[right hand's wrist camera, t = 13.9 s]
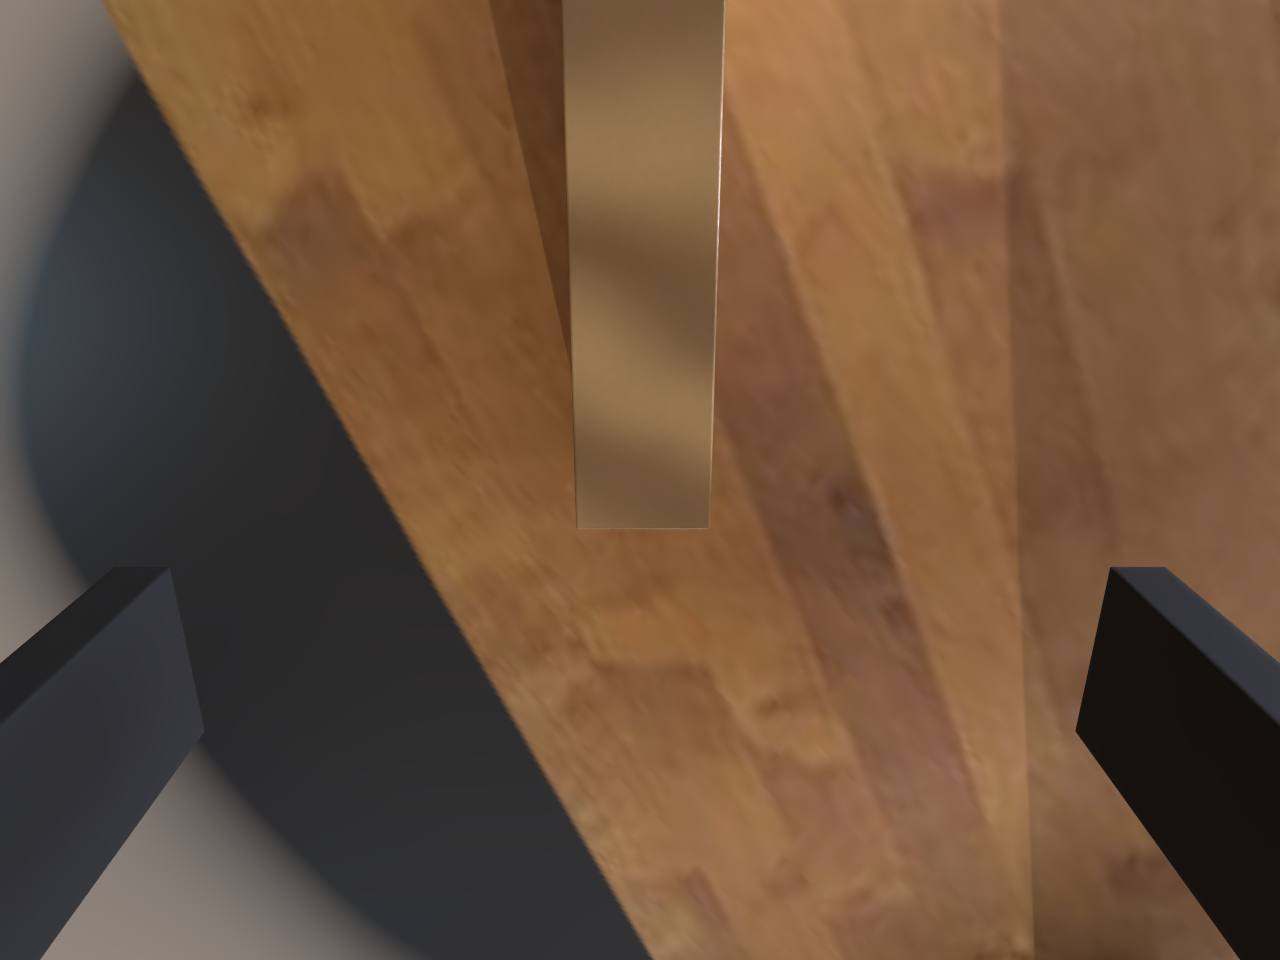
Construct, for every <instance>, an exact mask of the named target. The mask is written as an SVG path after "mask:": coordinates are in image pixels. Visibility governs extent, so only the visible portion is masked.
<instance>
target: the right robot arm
mask: <svg viewBox="0 0 1280 960" xmlns="http://www.w3.org/2000/svg"><path fill="white" fill-rule="evenodd" d="M203 733H204V726H203V722H202V717H201V712H200V708H199V703H198V698H197V693H196V689H195V684H194V680H193V675H192V670H191V666H190V661H189V656H188V651H187V647H186V642H185V637H184V632H183V628H182V623H181V618H180V614H179V609H178V604H177V600H176V595H175V590H174V585H173V581H172V576H171V571H170V568H169V567H115V568H113V569H112V570H111V571H110V572H109V573H107V574H106V575H105V576H104V577H103V578H101V579H100V580H99V581H98V582H97V583H95V584H94V585H93V586H92V587H91V588H90V589H88V590H87V591H86V592H85V593H84V594H82V595H81V596H80V597H79V598H78V599H76V600H75V601H74V602H73V603H72V604H70V605H69V606H68V607H67V608H66V609H65V610H63V611H62V612H61V613H60V614H59V615H57V616H56V617H55V618H54V619H53V620H51V621H50V622H49V623H48V624H47V625H45V626H44V627H43V628H42V629H41V630H39V631H38V632H37V633H36V634H35V635H34V636H32V637H31V638H30V639H29V640H28V641H26V642H25V643H24V644H23V645H22V646H20V647H19V648H18V649H17V650H16V651H14V652H13V653H12V654H11V655H10V656H9V657H7V658H6V659H5V660H4V661H3V662H1V663H0V960H40V959H41V958H42V956H43V955H44V953H45V952H46V951H47V949H48V948H49V946H50V945H51V944H52V942H53V941H54V939H55V938H56V937H57V935H58V934H59V933H60V931H61V930H62V928H63V927H64V925H65V924H66V923H67V921H68V920H69V919H70V917H71V916H72V915H73V913H74V912H75V910H76V909H77V908H78V906H79V905H80V903H81V902H82V901H83V899H84V898H85V896H86V895H87V894H88V892H89V891H90V890H91V888H92V887H93V885H94V884H95V883H96V881H97V880H98V878H99V877H100V876H101V874H102V873H103V871H104V870H105V869H106V867H107V866H108V864H109V863H110V862H111V860H112V859H113V858H114V856H115V855H116V853H117V852H118V851H119V849H120V848H121V846H122V845H123V844H124V842H125V841H126V839H127V838H128V837H129V835H130V834H131V832H132V831H133V830H134V828H135V827H136V826H137V824H138V823H139V821H140V820H141V819H142V817H143V816H144V815H145V813H146V812H147V810H148V809H149V807H150V806H151V805H152V803H153V802H154V801H155V799H156V798H157V796H158V795H159V794H160V792H161V791H162V790H163V788H164V787H165V785H166V784H167V783H168V781H169V780H170V778H171V777H172V776H173V774H174V773H175V771H176V770H177V769H178V767H179V766H180V765H181V763H182V762H183V760H184V759H185V758H186V756H187V755H188V753H189V752H190V751H191V749H192V748H193V746H194V745H195V744H196V742H197V741H198V739H199V738H200V737H201V735H202V734H203ZM1076 733H1077V734H1078V735H1079V737H1080V738H1081V740H1082V741H1083V742H1084V744H1085V745H1086V746H1087V748H1088V749H1089V751H1090V752H1091V753H1092V755H1093V756H1094V758H1095V759H1096V760H1097V762H1098V763H1099V765H1100V766H1101V767H1102V769H1103V770H1104V771H1105V773H1106V774H1107V776H1108V777H1109V778H1110V780H1111V781H1112V783H1113V784H1114V785H1115V787H1116V788H1117V790H1118V791H1119V792H1120V794H1121V795H1122V796H1123V798H1124V799H1125V801H1126V802H1127V803H1128V805H1129V806H1130V808H1131V809H1132V810H1133V812H1134V813H1135V815H1136V816H1137V817H1138V819H1139V820H1140V821H1141V823H1142V824H1143V826H1144V827H1145V828H1146V830H1147V831H1148V833H1149V834H1150V835H1151V837H1152V838H1153V840H1154V841H1155V842H1156V844H1157V845H1158V846H1159V848H1160V849H1161V851H1162V852H1163V853H1164V855H1165V856H1166V858H1167V859H1168V860H1169V862H1170V863H1171V865H1172V866H1173V867H1174V869H1175V870H1176V871H1177V873H1178V874H1179V876H1180V877H1181V878H1182V880H1183V881H1184V883H1185V884H1186V885H1187V887H1188V888H1189V890H1190V891H1191V892H1192V894H1193V895H1194V896H1195V898H1196V899H1197V901H1198V902H1199V903H1200V905H1201V906H1202V908H1203V909H1204V910H1205V912H1206V913H1207V915H1208V916H1209V917H1210V919H1211V920H1212V921H1213V923H1214V924H1215V926H1216V927H1217V928H1218V930H1219V931H1220V933H1221V934H1222V935H1223V937H1224V938H1225V940H1226V941H1227V942H1228V944H1229V945H1230V946H1231V948H1232V949H1233V951H1234V952H1235V953H1236V955H1237V956H1238V958H1239V959H1240V960H1280V663H1279V662H1277V661H1276V660H1275V659H1274V658H1273V657H1271V656H1270V655H1269V654H1268V653H1267V652H1266V651H1264V650H1263V649H1262V648H1261V647H1260V646H1258V645H1257V644H1256V643H1255V642H1254V641H1252V640H1251V639H1250V638H1249V637H1248V636H1246V635H1245V634H1244V633H1243V632H1242V631H1241V630H1239V629H1238V628H1237V627H1236V626H1235V625H1233V624H1232V623H1231V622H1230V621H1229V620H1227V619H1226V618H1225V617H1224V616H1223V615H1221V614H1220V613H1219V612H1218V611H1217V610H1215V609H1214V608H1213V607H1212V606H1211V605H1210V604H1208V603H1207V602H1206V601H1205V600H1204V599H1202V598H1201V597H1200V596H1199V595H1198V594H1196V593H1195V592H1194V591H1193V590H1192V589H1190V588H1189V587H1188V586H1187V585H1186V584H1185V583H1183V582H1182V581H1181V580H1180V579H1179V578H1177V577H1176V576H1175V575H1174V574H1173V573H1171V572H1170V571H1169V570H1168V569H1167V568H1165V567H1110V571H1109V576H1108V581H1107V585H1106V590H1105V595H1104V600H1103V604H1102V609H1101V614H1100V618H1099V623H1098V628H1097V632H1096V637H1095V642H1094V647H1093V651H1092V656H1091V661H1090V665H1089V670H1088V675H1087V679H1086V684H1085V689H1084V693H1083V698H1082V703H1081V708H1080V712H1079V717H1078V722H1077V726H1076Z"/></svg>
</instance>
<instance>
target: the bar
mask: <svg viewBox="0 0 1280 960" xmlns="http://www.w3.org/2000/svg"><path fill="white" fill-rule="evenodd" d="M725 14H726V0H561V26H562V60H563V94H564V128H565V162H566V196H567V230H568V264H569V298H570V332H571V366H572V400H573V434H574V468H575V502H576V528H577V529H709V528H710V512H711V478H712V445H713V412H714V379H715V346H716V313H717V279H718V246H719V213H720V180H721V147H722V113H723V80H724V47H725Z"/></svg>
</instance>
